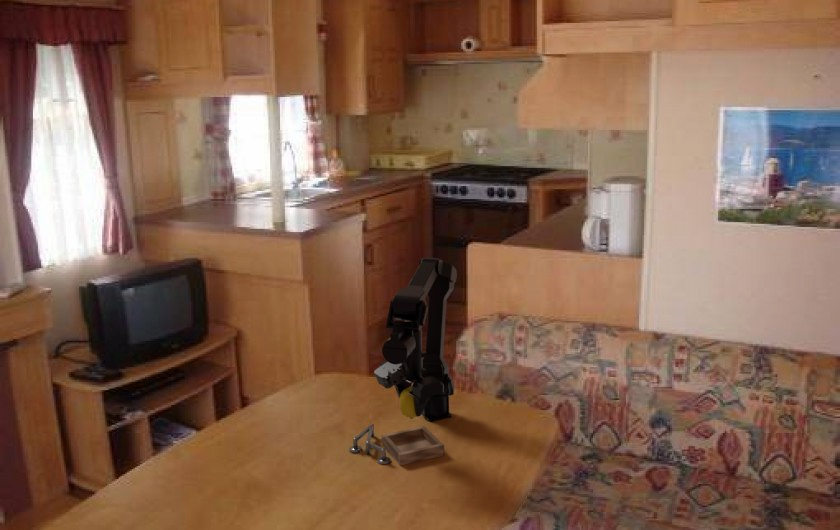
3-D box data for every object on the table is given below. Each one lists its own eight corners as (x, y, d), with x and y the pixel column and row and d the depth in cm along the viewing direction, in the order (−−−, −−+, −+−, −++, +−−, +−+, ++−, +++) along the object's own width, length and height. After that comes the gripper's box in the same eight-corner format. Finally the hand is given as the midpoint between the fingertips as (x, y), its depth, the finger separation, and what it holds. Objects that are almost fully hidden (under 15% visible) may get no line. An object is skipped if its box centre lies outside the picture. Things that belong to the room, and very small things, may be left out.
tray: (424, 435, 191) (424, 425, 190) (444, 455, 181) (443, 444, 180) (382, 445, 186) (381, 435, 186) (400, 465, 177) (399, 455, 176)
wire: (373, 434, 192) (372, 423, 191) (396, 461, 178) (396, 449, 178) (342, 441, 189) (341, 430, 188) (363, 469, 175) (363, 457, 175)
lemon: (401, 413, 185) (400, 381, 183) (424, 413, 184) (423, 382, 182) (398, 423, 180) (397, 391, 178) (422, 424, 179) (421, 392, 177)
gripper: (358, 344, 181) (361, 406, 185) (401, 368, 166) (403, 436, 170) (399, 334, 187) (401, 394, 191) (444, 357, 172) (445, 422, 176)
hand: (411, 411), depth 181 cm, fingers closed on lemon, 5 cm apart
